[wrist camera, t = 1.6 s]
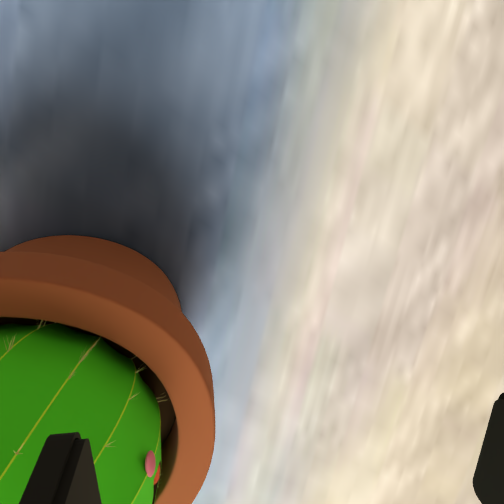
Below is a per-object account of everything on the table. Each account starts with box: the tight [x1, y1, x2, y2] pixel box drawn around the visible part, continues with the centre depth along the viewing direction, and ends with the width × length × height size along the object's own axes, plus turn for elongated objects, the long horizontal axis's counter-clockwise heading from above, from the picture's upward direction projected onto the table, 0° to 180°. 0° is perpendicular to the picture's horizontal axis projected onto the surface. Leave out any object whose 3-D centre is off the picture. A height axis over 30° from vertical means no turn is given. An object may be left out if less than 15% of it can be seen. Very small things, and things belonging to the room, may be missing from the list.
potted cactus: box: [0, 235, 215, 504], centre depth 25 cm, size 22×22×25 cm
